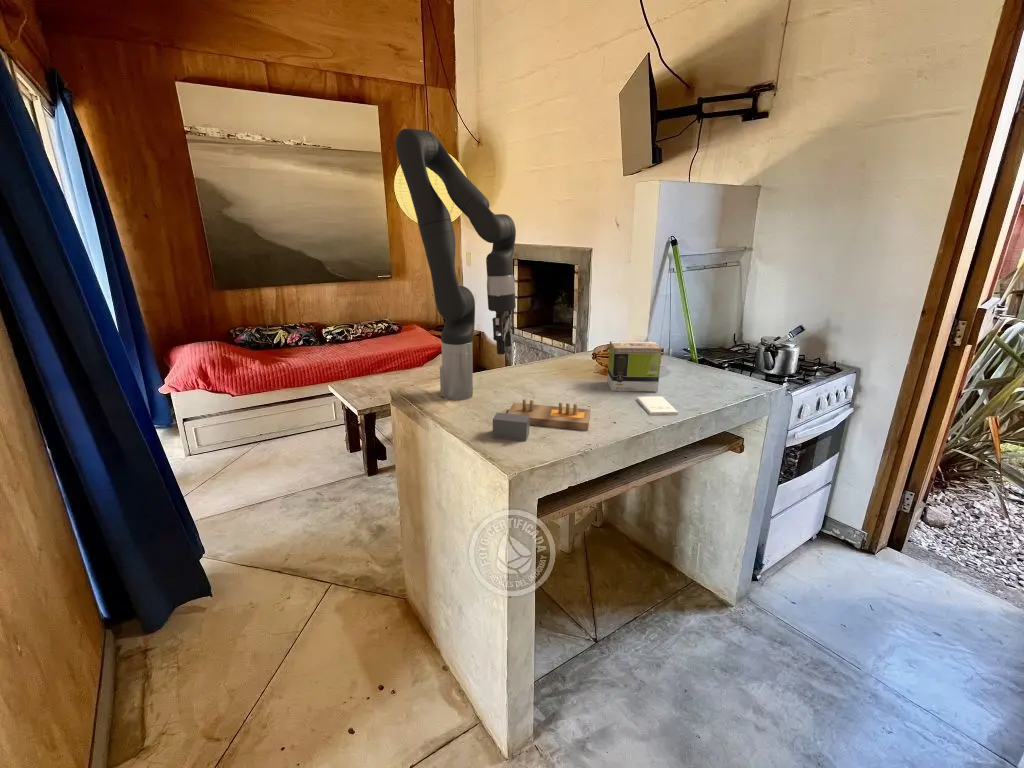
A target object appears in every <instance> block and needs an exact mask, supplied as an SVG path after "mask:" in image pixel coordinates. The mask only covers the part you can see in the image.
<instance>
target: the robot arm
mask: <svg viewBox="0 0 1024 768" xmlns="http://www.w3.org/2000/svg"><path fill="white" fill-rule="evenodd" d="M395 150H396V156H397V159H398V161H399V165H400V168H401V171H402V173H403V176H404V179H405V181H406V184H407V188H408V192H409V194H410V198H411V201H412V204H413V209H414V213H415V216H416V219H417V225H418V228H419V229H418V230H419V233H420V237H421V240H422V244H423V248H424V252H425V255H426V256H425V257H426V259H427V264H428V267H429V270H430V276H431V281H432V282H431V283H432V287H433V288H432V289H433V293H434V295H433V296H434V301H435V305H436V308H437V312H438V314H439V315H440V317H442V318H443V319H444V320H445V323H444V327H443V329H442V331H441V333H440V335H441V337H440V339H441V341H440V342H441V343H440V344H441V345H440V346H441V366H440V367H439V383H440V385H439V387H440V397H441V396H442V397H441V398H445V399H447V400H454V401H461V400H467V399H470V398H471V397H473V393H474V384H473V383H474V382H473V381H474V379H473V377H474V376H473V375H474V373H473V370H474V369H473V368H474V366H473V364H474V363H473V362H474V361H473V358H474V357H473V335H474V331H475V322H476V321H475V320H476V317H475V316H476V301H475V298H474V294H473V292H472V291H471V290H470V289H469V288H468V287H466V286H463V285H460V284H459V281H458V277H457V272H456V262H455V261H456V236H455V230H454V226H453V222H452V218H451V214H450V212H449V210H448V207H447V206H446V205H445V203H444V201H443V200H442V199H441V198H440V196H439V194H438V193H437V191H436V190H435V188H434V187H433V185H432V183H431V180H430V177H429V174H428V169H429V170H431V171H432V173H435V175H437V176H438V177H439V179H441V181H442V183H443V184H444V186H445V189H446V192H447V194H448V196H449V198H450V199H451V201H452V202H453V204H454V205H455V206H456V207H457V208H458V209H459V210H460V211H461V213H463V214H464V215H465V216H466V217H467V218H468V220H469V222H470V224H471V226H472V227H473V229H474V231H475V232H476V233H477V235H478V236H479V237H480V238H481V239H482V240H483V241H484V242H486V243H490V244H492V249H491V252H490V253H488V254H487V255H486V259H485V264H486V293H487V294H486V295H487V308H488V310H489V312H495V316H494V317H492V319H491V321H492V331H493V337H492V338H493V341H495V342H496V354H498V355H505V354H506V347H507V348H508V347H511V346H512V332H513V331H512V330H513V328H514V327H513V318H512V317H513V316H512V312H513V311H514V310H515V309H516V306H517V305H516V303H517V302H516V287H515V286H516V284H515V278H514V266H513V255H514V250H515V246H516V245H515V244H516V236H517V230H516V226H515V222H514V220H513V218H512V216H510V215H508V214H505V213H500V214H499V213H497V214H496V213H494V212H493V211H492V210H491V209H490V201H489V200H488V198H487V197H486V196H485V195H484V193H482V192H481V191H480V190H479V189H478V187H477V186H476V185H475V184H474V183H473V182H472V181H471V180H470V179H469V178H468V177H467V176H466V175H465V173H463V172H462V170H461V169H460V168H459V166H458V165H457V163H456V162H455V161H454V159H453V158H452V157H451V155H450V154H449V153H448V151H447V150H446V148H445V146H444V145H443V143H442V142H441V141H440V140H439V138H438V137H437V136H436V135H435V134H434V133H433V132H431V131H430V130H425V129H416V128H403V129H401V130H400V131H399V132H398V134H397V136H396V138H395ZM427 168H428V169H427ZM499 334H500V335H499Z"/></svg>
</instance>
